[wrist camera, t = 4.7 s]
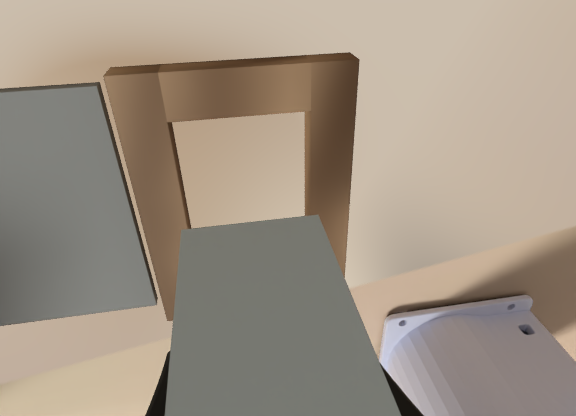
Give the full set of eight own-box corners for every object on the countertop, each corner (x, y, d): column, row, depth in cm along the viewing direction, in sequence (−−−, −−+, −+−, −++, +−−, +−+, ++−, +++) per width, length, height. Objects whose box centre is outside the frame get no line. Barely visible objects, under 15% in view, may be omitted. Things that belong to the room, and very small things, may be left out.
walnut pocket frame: (349, 52, 16) (359, 59, 15) (337, 281, 23) (343, 296, 22) (110, 67, 15) (103, 76, 14) (169, 303, 21) (167, 321, 20)
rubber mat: (99, 82, 15) (96, 86, 15) (157, 298, 21) (156, 305, 21) (-143, 98, 14) (-154, 102, 14) (-11, 320, 20) (-16, 328, 20)
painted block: (318, 214, 11) (410, 436, 6) (314, 376, 15) (369, 595, 10) (181, 229, 11) (158, 483, 6) (213, 392, 14) (217, 631, 9)
